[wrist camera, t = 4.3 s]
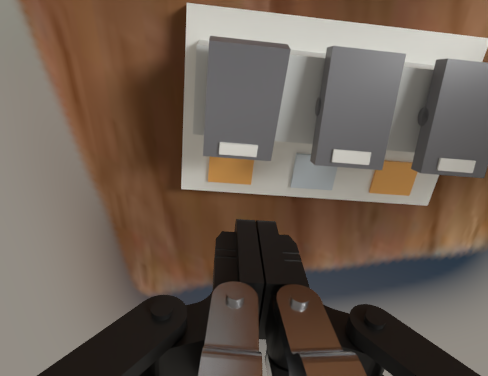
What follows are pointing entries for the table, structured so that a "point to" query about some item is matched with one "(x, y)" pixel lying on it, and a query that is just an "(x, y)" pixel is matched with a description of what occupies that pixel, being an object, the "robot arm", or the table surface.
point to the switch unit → (313, 106)
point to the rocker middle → (356, 107)
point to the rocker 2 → (454, 121)
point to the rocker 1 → (243, 97)
